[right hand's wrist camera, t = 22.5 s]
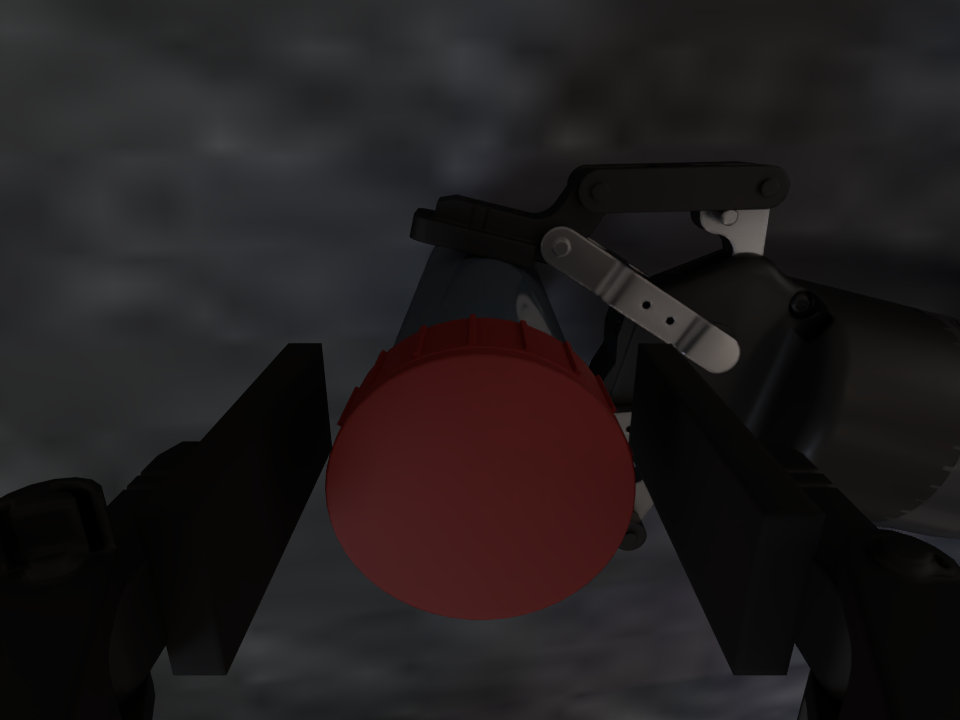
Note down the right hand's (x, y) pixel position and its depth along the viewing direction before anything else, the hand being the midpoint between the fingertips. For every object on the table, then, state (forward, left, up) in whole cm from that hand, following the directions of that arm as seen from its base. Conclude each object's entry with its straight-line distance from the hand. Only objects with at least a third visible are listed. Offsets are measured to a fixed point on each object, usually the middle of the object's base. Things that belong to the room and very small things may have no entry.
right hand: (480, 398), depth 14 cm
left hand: (0, -3, -6) cm, 7 cm away
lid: (0, 0, +4) cm, 4 cm away
